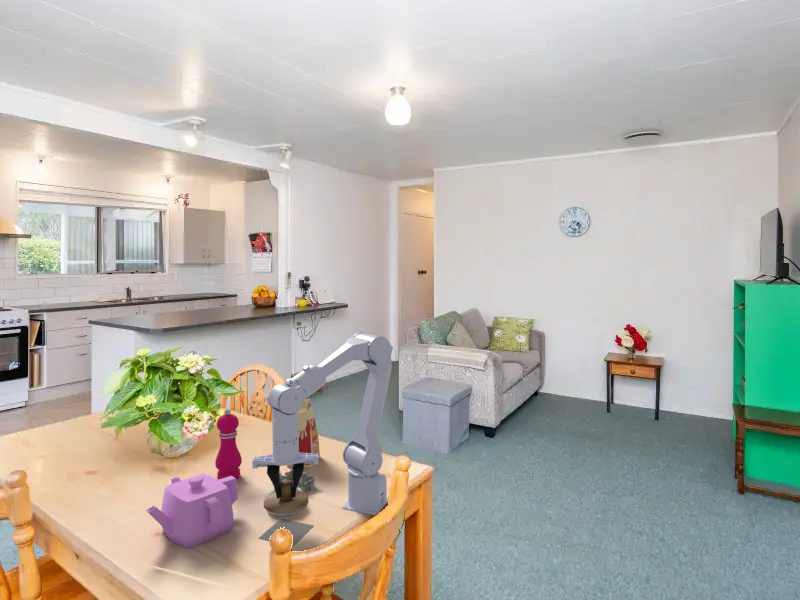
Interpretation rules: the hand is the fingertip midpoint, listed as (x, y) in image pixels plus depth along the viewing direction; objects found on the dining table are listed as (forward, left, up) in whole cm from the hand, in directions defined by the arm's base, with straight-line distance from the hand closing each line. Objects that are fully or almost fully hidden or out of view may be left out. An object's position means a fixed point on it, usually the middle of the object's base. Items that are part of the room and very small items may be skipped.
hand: (286, 496), depth 113 cm
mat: (0, 0, -9) cm, 9 cm away
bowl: (+7, -10, -9) cm, 15 cm away
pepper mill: (+32, -20, -9) cm, 39 cm away
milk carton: (+18, -37, -9) cm, 42 cm away
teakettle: (+21, +6, -9) cm, 24 cm away
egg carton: (+11, -21, -9) cm, 26 cm away
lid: (0, 0, -2) cm, 2 cm away
